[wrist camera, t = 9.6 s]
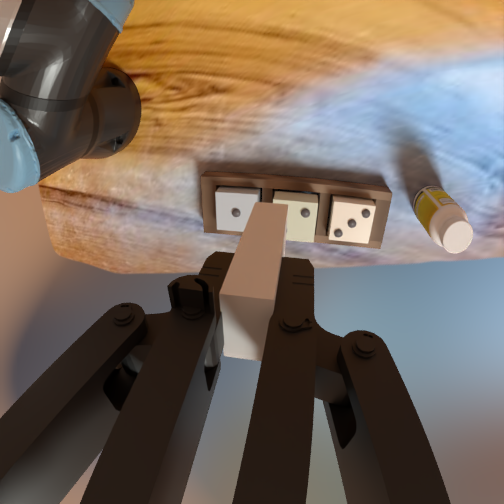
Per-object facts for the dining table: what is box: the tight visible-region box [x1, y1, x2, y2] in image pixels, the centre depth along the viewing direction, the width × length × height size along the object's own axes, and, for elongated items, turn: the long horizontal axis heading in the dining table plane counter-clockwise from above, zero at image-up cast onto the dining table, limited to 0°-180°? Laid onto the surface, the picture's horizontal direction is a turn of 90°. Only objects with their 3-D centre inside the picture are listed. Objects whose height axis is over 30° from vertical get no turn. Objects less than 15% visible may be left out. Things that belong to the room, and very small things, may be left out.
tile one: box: [215, 185, 261, 232], centre depth 43 cm, size 6×6×3 cm
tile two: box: [273, 191, 318, 243], centre depth 41 cm, size 6×6×3 cm
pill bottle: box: [413, 186, 473, 253], centre depth 36 cm, size 6×6×11 cm
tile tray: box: [201, 171, 392, 249], centre depth 44 cm, size 27×9×2 cm, turn 89°
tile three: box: [328, 194, 376, 244], centre depth 41 cm, size 6×6×3 cm
